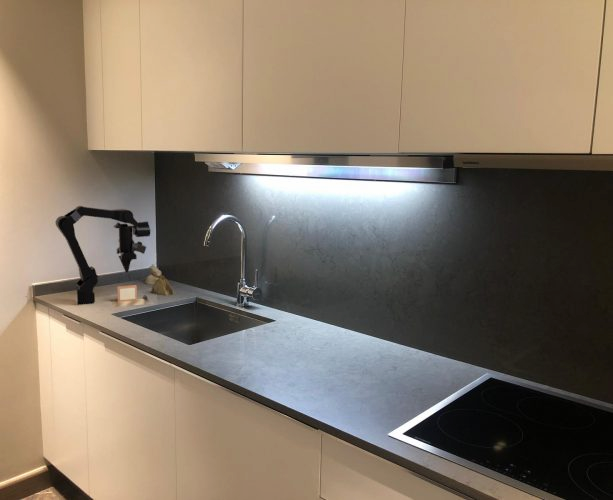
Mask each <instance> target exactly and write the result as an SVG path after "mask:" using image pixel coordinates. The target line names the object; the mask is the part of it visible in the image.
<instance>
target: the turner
mask: <svg viewBox="0 0 613 500" xmlns="http://www.w3.org/2000/svg"><path fill="white" fill-rule="evenodd" d="M144 298H145V300H144V302H145V303H146V304H145V305H152V304H151V303H153V301H152V300H151V299H150V298H149V297H148V296H147V295H146V294H144V295H143V299H144ZM148 298H149V299H150V300H149V299H148Z"/></svg>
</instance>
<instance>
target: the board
mask: <svg viewBox="0 0 613 500" xmlns="http://www.w3.org/2000/svg"><path fill="white" fill-rule="evenodd" d="M147 298H148V299H149V300H151V299H150V297H147ZM144 300H145V298H144V297H143V298H137V300H135V301H124V302H118V300H112V301H111V304H112V305H113V307H114V308H118V307H119V308H120V307H129V306H139V305H140V306H143V305H147V304H146V303H145V302H144ZM150 305H153V302H152V303H151V304H150Z"/></svg>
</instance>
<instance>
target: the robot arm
mask: <svg viewBox="0 0 613 500" xmlns="http://www.w3.org/2000/svg"><path fill="white" fill-rule="evenodd" d="M85 216H86V217H93V218H101V219H109V220H110V219H111V220H115V221H117V222H116V223H115V224H114V225H113V227H114V228H115V229H118V243H119V244H118V245H119V247H117V248H116V254H117V255H118V258H119V260H120V262H121V264H122V267H123V269H124V272H125V273H128V272H129V270H130V266H131V262H132V260H137V257H138V255H137V254H136V253H135V252H139V253H141V254H143V255H144V254H145V252H146V249H147V246H146V245H144V244H143V242H141V241H137V242H135V240H134V238H133V236H135V237H136V238H144V237H146V238H147V237H150V236H151V227H150V225H149V221H137V220H136V219H135V217H134V214H133V212H132V211H131V210H130V209H126V208H116V209H105V208H98V207H97V208H96V207H90V206H84V205H78V206H76V207H75V208H74V209H72V210H71V211H69V212H67V213H66V214H65V215H60V216H58V217H57V218H56V220H55V226H56V227H57V229H58V231H59V232H60V233H61V234H62V236H63V238H65V240H66V243H67V244H68V248H69V249H70V253H71V255H72V256H73V259H74V261H75V263H76V265H77V267H78V274H79V278H80V279H79V280H78V281H77V282H76V283H75V287H76V288H77V289H76V298H77V299H76V300H77V301H76V304H77V306H78V307H79V306H82V305H83V306H84V305H92V304H93V305H94V304H95V302H96V301H95V300H96V296H95V291H94V288H95V286H96V285H97V284H98V282H99V280H98V278H99V275H98V274H97V272H96V268H95V267H93V266H90V265H89V264H88V261H87V259H86V257H85V255H84V252H83V250H82V248H81V246H80V244H79V241H78V239H77V237H76V232H75V226H74V225H75V224H76V223H77V222H79V220H80V219H81V218H83V217H85ZM120 222H121V223H120ZM128 224H129V225H128Z"/></svg>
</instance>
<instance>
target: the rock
mask: <svg viewBox="0 0 613 500" xmlns="http://www.w3.org/2000/svg"><path fill="white" fill-rule="evenodd" d="M174 291H175V290H174V289H173V287H172V286H171V284H170V282H169V281H168V280H167V278H166V277H165V275H161V276H160V278H159V279H158V280H157V281H156V282H155V283H154V284H152V287H151V293H152V294H158V295H163V296H172V295H175V292H174Z"/></svg>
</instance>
